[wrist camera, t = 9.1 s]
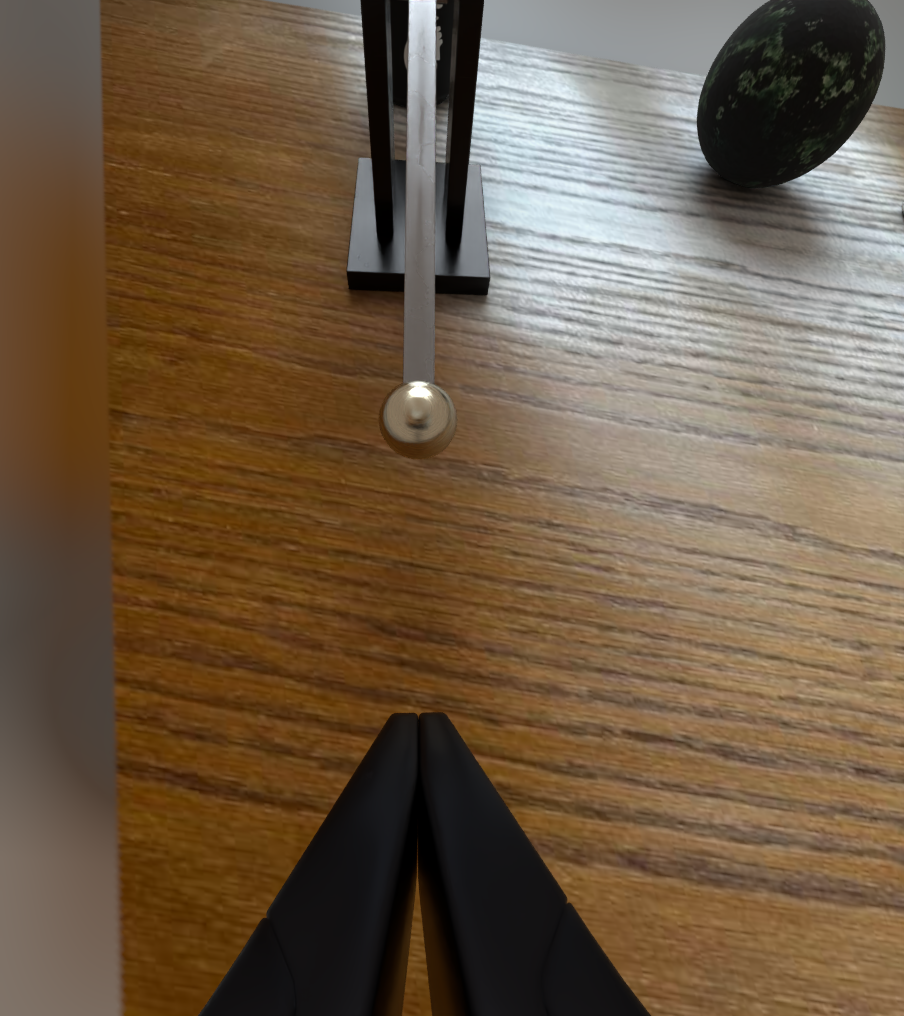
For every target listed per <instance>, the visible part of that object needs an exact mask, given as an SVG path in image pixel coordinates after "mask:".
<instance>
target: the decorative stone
mask: <svg viewBox="0 0 904 1016" xmlns="http://www.w3.org/2000/svg"><path fill="white" fill-rule="evenodd" d="M884 60H885V36H884V31H883V26H882V23H881V20H880V18H879V16H878V14H877V13H876V10H875V9H874V7H873V6H872V5H871V3H870V2H869V1H868V0H770V1H768V2H767V3H765V4H764V5H762V6H761V7H760V8H758V9H757V10H756V11H755V12H753V13H752V14H751V15H750V16H749V17H748V18H747V19H746V20H745V21H744V22H743V23H742V24H741V25H740V26H739V27H738V28H737V29H736V30H735V31H734V32H733V34H732V35H731V36H730V37H729V39H728V40H727V42H726V43H725V44H724V46H723V47H722V49H721V50H720V52H719V54H718V55H717V57H716V58H715V61H714V62H713V64H712V66H711V68H710V70H709V72H708V75H707V77H706V80H705V82H704V85H703V88H702V92H701V95H700V99H699V105H698V112H697V131H698V138H699V142H700V146H701V150H702V152H703V154H704V156H705V158H706V160H707V162H708V163H709V165H710V166H711V167H712V168H713V169H714V170H715V171H716V172H717V173H718V174H719V175H720V176H721V177H723V178H725V179H726V180H728V181H730V182H733V183H735V184H738V185H740V186H744V187H750V188H762V187H770V186H776V185H780V184H783V183H786V182H788V181H791V180H793V179H796V178H798V177H800V176H802V175H804V174H806V173H808V172H809V171H811V170H812V169H814V168H816V167H817V166H819V165H820V164H821V163H823V162H824V161H826V160H827V159H828V158H829V157H831V156H832V155H833V154H834V153H835V152H836V151H837V150H838V149H839V148H840V147H841V146H842V145H843V144H844V143H845V142H846V141H847V140H848V139H849V137H850V136H851V135H852V134H853V132H854V131H855V130H856V128H857V127H858V126H859V124H860V123H861V121H862V120H863V118H864V117H865V115H866V113H867V112H868V110H869V108H870V106H871V104H872V102H873V100H874V98H875V95H876V93H877V90H878V87H879V85H880V81H881V78H882V74H883V69H884Z"/></svg>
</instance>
